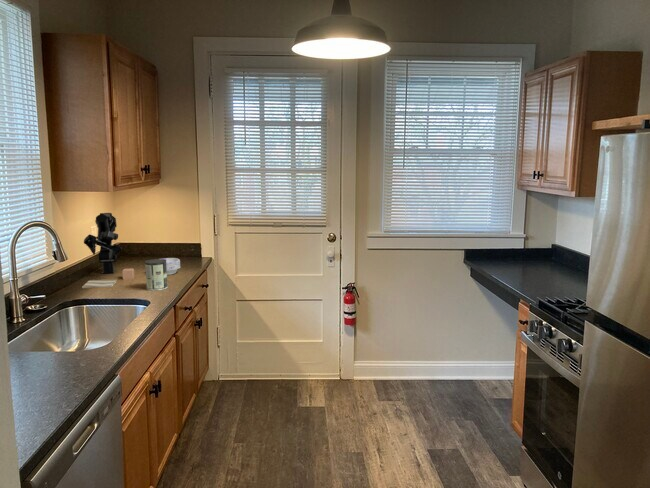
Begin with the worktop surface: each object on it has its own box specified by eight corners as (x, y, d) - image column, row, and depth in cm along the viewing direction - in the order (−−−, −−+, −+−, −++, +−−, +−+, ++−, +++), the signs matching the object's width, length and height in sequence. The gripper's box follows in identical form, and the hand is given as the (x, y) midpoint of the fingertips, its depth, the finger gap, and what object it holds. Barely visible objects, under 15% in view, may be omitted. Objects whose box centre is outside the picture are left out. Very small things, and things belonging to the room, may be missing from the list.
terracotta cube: (124, 277, 285) (124, 268, 284) (134, 277, 285) (133, 268, 285) (123, 279, 280) (122, 270, 279) (132, 279, 281) (132, 270, 280)
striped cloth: (89, 281, 274) (89, 280, 274) (117, 280, 277) (117, 279, 277) (82, 288, 261) (81, 286, 261) (111, 287, 263) (111, 285, 263)
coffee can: (158, 284, 269) (157, 258, 266) (172, 287, 263) (170, 260, 261) (141, 288, 260) (140, 261, 258) (155, 291, 255) (153, 263, 252)
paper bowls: (163, 269, 304) (163, 256, 303) (185, 271, 299) (185, 258, 298) (146, 275, 290) (146, 261, 289) (169, 277, 285) (169, 263, 284)
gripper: (95, 219, 271) (94, 242, 262) (127, 232, 284) (127, 255, 275) (84, 231, 276) (82, 254, 267) (116, 243, 289) (115, 265, 280)
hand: (102, 257), depth 272 cm, fingers open, 9 cm apart
